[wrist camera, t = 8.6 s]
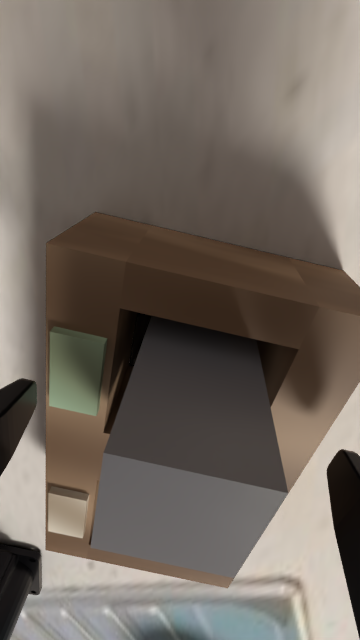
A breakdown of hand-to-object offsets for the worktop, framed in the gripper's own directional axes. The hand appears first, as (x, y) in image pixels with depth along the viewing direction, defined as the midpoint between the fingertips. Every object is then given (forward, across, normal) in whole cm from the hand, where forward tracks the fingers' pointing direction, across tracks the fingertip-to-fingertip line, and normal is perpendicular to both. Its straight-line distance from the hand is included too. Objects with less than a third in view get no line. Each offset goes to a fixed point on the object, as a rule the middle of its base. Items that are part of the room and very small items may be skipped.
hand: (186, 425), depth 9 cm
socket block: (+5, 0, +4) cm, 7 cm away
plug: (+5, 0, 0) cm, 5 cm away
